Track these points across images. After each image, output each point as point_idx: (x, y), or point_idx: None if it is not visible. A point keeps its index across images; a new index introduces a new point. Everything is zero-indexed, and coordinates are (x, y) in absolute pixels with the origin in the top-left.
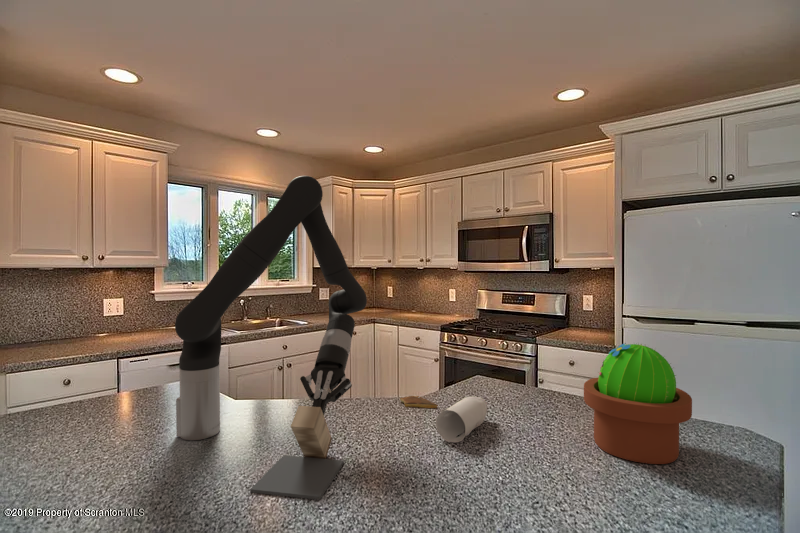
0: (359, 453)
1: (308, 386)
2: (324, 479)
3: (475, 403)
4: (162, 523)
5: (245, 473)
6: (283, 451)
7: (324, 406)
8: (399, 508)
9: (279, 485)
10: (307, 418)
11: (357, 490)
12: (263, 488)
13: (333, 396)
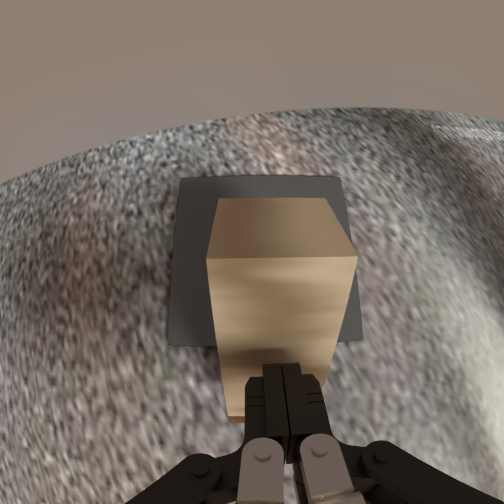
0: (143, 409)
1: (422, 491)
2: (190, 239)
3: None
4: (395, 112)
5: (399, 245)
6: (380, 376)
7: (245, 419)
8: (50, 195)
9: (288, 197)
10: (264, 217)
11: (113, 227)
12: (315, 183)
13: (183, 460)
